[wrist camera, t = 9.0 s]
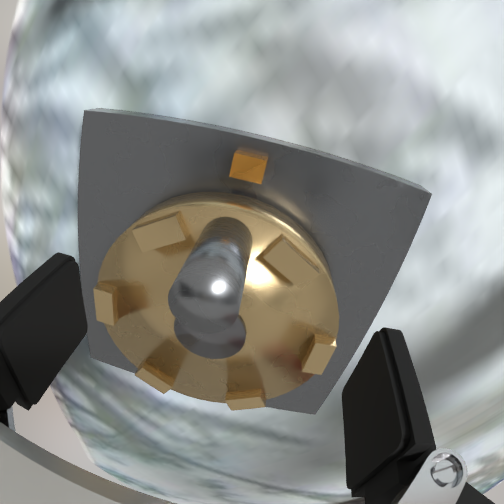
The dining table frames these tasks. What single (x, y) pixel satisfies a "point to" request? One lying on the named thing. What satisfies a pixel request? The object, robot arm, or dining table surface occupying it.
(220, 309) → the brass crank wheel
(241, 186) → the housing
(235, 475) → the dining table surface
